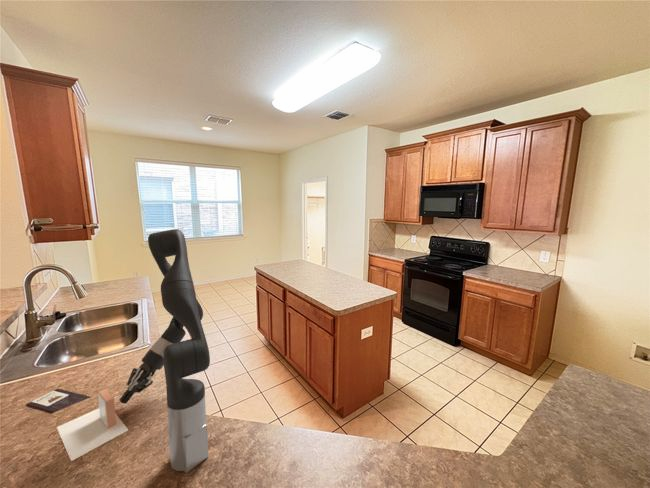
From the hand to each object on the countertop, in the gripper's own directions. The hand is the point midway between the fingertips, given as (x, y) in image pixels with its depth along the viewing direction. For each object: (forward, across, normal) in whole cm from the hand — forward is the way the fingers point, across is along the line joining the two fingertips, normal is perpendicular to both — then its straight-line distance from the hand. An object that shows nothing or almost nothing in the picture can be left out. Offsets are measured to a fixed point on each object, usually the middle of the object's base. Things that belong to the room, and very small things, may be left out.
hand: (122, 402), depth 87 cm
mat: (+9, 0, -2) cm, 9 cm away
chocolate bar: (+12, -28, -4) cm, 31 cm away
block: (+6, 0, 0) cm, 6 cm away
